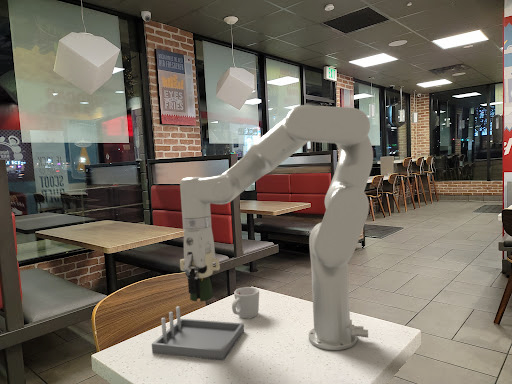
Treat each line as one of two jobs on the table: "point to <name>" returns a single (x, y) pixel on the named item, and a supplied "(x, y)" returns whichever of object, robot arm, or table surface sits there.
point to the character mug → (204, 277)
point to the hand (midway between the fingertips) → (201, 287)
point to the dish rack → (197, 338)
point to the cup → (246, 302)
